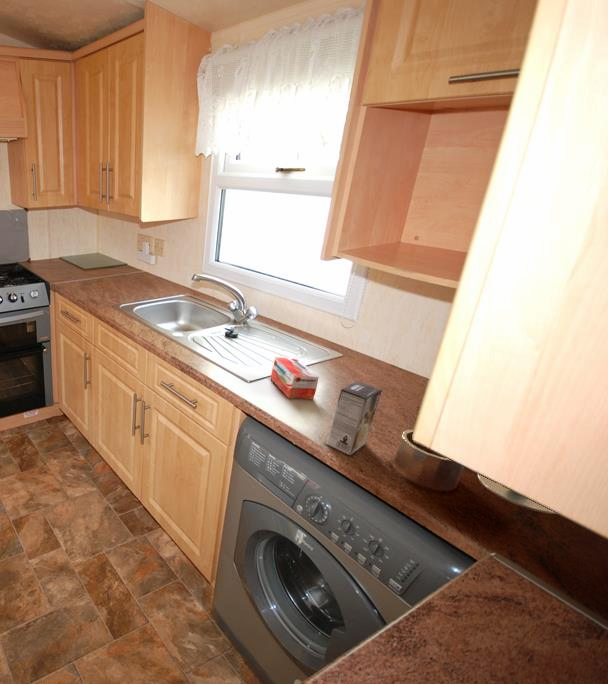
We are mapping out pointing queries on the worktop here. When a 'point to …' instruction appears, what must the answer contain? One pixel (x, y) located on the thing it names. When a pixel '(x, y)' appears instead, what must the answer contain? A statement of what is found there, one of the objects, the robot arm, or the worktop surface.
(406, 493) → the worktop surface
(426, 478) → the pot
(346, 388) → the coffee box
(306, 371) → the medicine box
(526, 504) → the lid
